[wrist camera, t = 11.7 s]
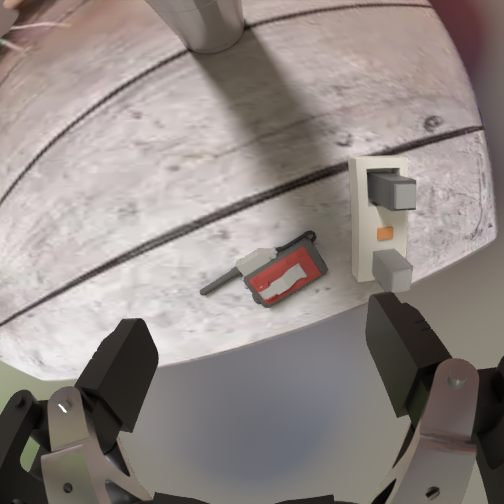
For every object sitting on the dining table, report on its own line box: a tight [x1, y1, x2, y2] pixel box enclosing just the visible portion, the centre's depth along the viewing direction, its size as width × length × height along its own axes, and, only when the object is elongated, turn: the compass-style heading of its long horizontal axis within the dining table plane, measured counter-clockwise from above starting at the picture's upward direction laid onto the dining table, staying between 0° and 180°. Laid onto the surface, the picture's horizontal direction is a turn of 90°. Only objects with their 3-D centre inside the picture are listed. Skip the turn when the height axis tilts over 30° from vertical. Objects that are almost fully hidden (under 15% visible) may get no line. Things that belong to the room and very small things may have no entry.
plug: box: [367, 172, 416, 211], centre depth 31 cm, size 4×4×9 cm
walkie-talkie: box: [200, 231, 328, 308], centre depth 40 cm, size 9×4×20 cm
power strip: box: [348, 156, 413, 293], centre depth 33 cm, size 18×8×10 cm, turn 8°
